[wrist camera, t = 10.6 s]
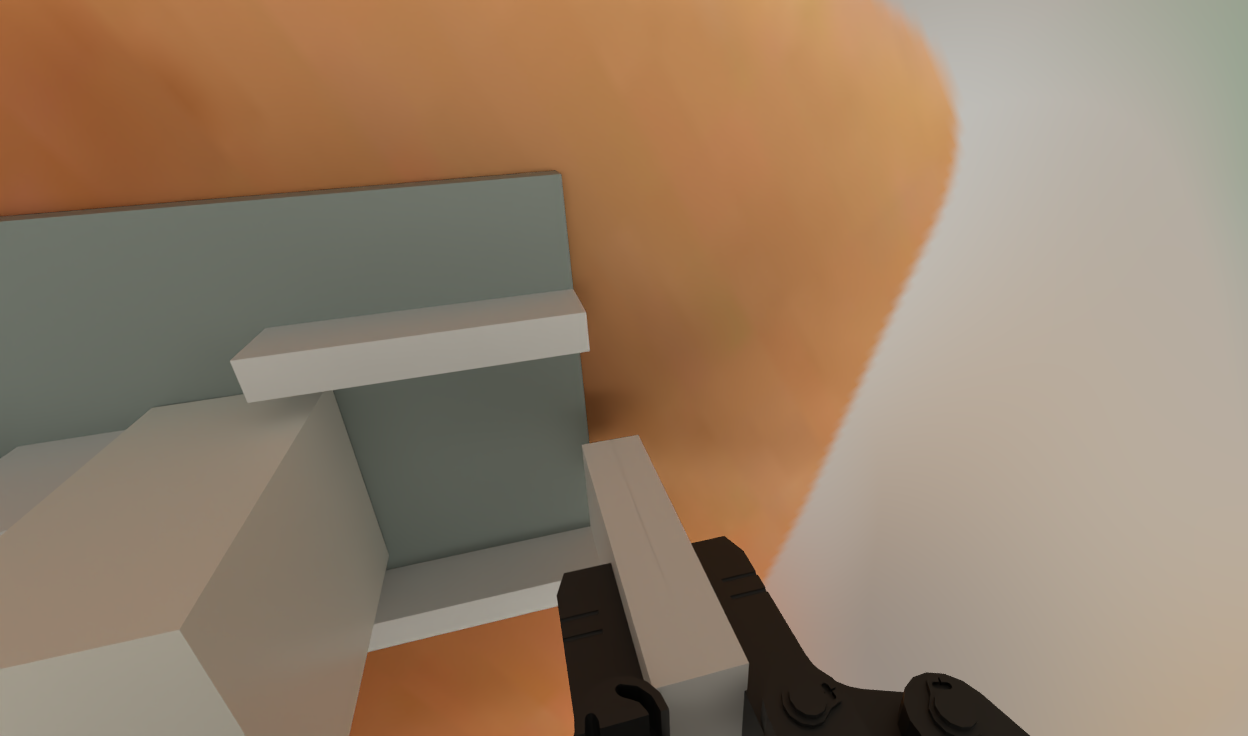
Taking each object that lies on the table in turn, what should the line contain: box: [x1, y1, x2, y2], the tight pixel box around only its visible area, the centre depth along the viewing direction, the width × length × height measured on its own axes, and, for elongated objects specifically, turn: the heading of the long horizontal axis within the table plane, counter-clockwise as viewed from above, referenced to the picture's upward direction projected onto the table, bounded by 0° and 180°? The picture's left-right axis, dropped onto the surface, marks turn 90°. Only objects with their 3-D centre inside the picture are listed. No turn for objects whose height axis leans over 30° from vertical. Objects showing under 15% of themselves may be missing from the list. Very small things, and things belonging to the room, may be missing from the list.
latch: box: [0, 390, 389, 736], centre depth 11 cm, size 9×6×8 cm, turn 94°
